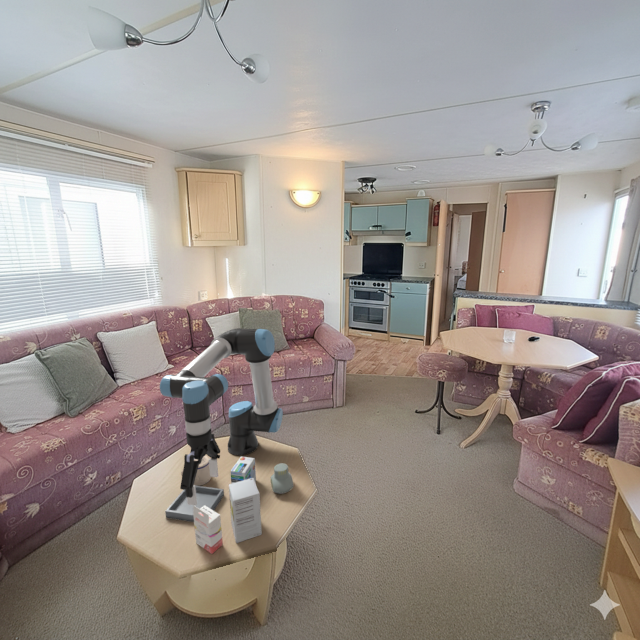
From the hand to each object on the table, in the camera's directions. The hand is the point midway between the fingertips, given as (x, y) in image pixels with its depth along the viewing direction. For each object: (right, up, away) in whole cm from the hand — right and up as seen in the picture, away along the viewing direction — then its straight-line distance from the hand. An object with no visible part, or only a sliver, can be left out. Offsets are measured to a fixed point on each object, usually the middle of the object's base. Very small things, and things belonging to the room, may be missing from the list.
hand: (203, 489), depth 112 cm
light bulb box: (+6, -15, +32) cm, 36 cm away
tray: (-10, -17, +22) cm, 30 cm away
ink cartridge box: (0, -21, +5) cm, 21 cm away
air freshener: (+22, -15, +31) cm, 41 cm away
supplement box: (+12, -20, +10) cm, 25 cm away
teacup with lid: (-15, -15, +37) cm, 42 cm away
